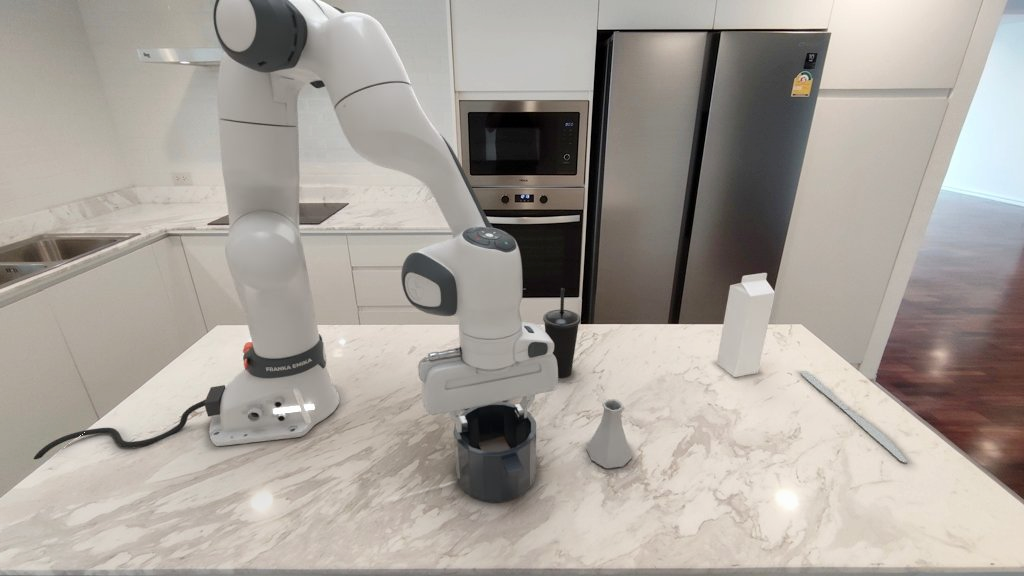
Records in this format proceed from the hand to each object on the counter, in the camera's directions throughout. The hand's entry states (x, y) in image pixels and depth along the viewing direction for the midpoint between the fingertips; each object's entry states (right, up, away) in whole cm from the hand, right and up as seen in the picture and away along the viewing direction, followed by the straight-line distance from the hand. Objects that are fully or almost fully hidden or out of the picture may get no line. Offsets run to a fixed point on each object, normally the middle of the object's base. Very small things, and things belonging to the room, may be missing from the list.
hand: (491, 422), depth 73 cm
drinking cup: (+13, +2, +30) cm, 33 cm away
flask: (+19, -8, +8) cm, 22 cm away
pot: (+1, -9, +4) cm, 10 cm away
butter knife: (+67, -3, +17) cm, 69 cm away
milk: (+52, +3, +32) cm, 61 cm away
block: (0, -9, +4) cm, 10 cm away
